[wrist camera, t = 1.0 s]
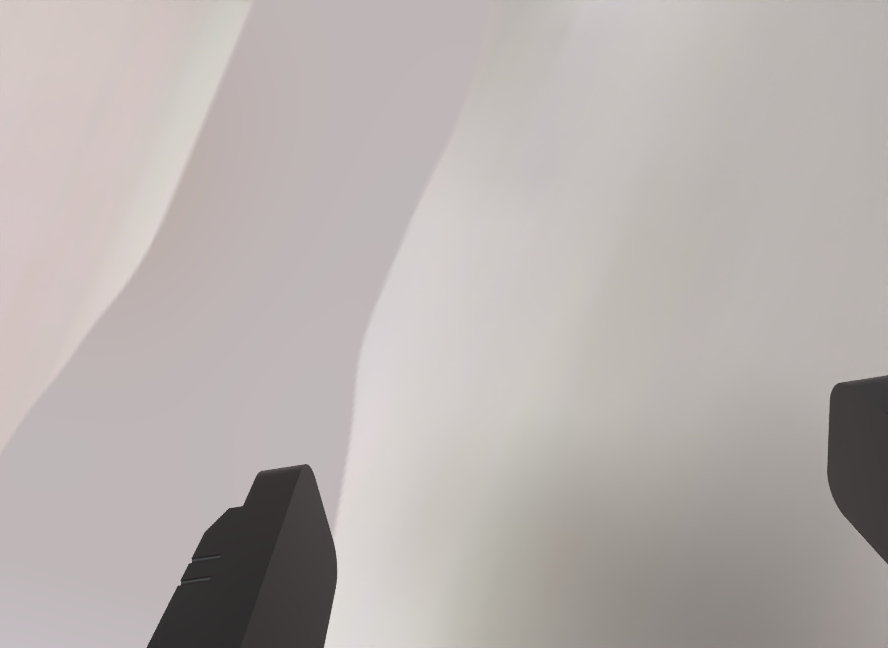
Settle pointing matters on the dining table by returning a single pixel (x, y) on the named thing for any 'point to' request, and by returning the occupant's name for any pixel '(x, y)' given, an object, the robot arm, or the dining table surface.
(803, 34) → the dining table surface
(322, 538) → the robot arm
